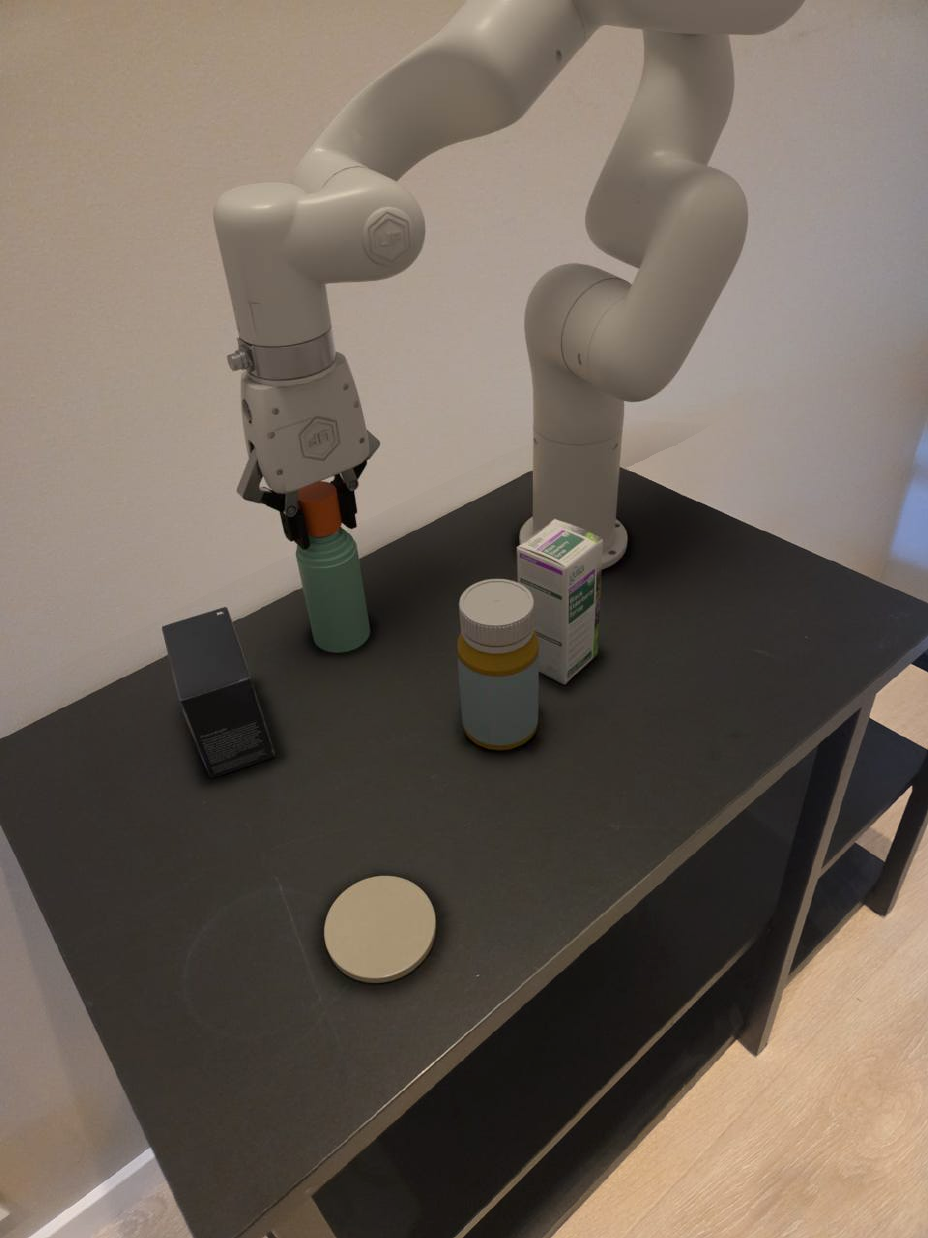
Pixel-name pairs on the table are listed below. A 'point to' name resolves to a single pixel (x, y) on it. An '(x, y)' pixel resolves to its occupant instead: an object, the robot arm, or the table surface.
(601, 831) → the table surface
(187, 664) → the small box
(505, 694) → the bottle
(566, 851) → the table surface
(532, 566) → the syrup box
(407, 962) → the coaster
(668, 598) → the table surface
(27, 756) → the table surface
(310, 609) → the sauce bottle
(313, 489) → the cap
